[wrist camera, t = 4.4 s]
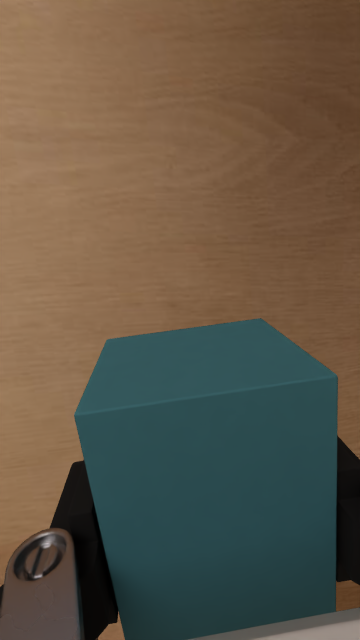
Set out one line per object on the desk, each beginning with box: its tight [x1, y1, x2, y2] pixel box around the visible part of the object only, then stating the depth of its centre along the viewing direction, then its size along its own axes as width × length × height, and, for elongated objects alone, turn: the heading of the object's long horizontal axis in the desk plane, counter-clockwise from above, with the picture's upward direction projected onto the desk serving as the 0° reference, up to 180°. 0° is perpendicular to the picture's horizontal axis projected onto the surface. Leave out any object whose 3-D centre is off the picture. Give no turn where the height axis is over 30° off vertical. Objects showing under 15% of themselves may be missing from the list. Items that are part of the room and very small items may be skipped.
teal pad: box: [74, 318, 338, 640], centre depth 9 cm, size 8×5×4 cm, turn 7°
